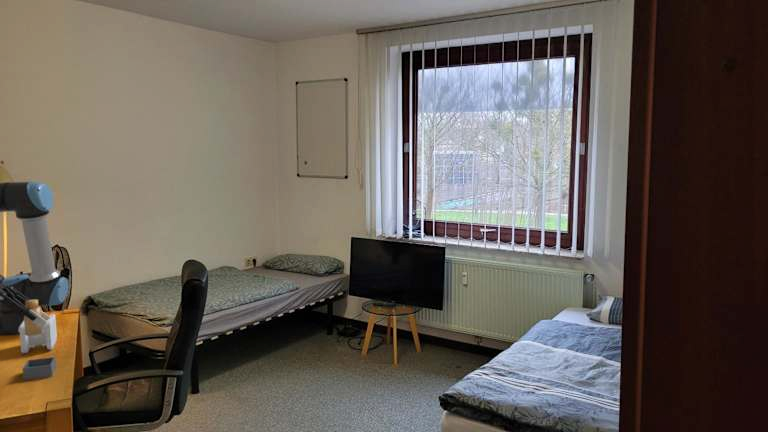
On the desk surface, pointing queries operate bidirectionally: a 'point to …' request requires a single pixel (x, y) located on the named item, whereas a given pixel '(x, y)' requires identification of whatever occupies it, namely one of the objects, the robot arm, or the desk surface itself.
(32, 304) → the beige rounded figurine
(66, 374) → the desk surface
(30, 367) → the grey open square box
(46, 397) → the desk surface
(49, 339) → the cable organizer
